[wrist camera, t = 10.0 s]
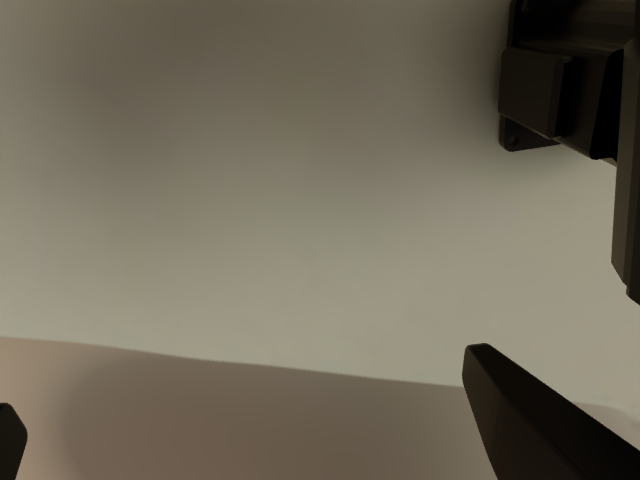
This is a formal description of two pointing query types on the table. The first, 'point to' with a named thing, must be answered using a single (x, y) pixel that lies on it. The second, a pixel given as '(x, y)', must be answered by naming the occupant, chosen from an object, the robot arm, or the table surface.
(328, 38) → the table surface
